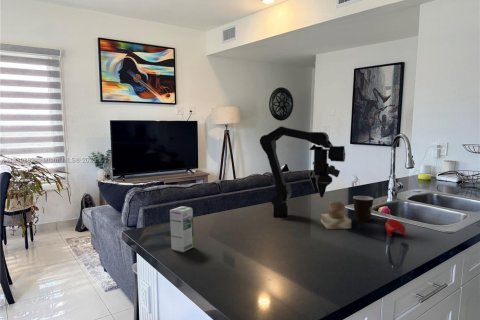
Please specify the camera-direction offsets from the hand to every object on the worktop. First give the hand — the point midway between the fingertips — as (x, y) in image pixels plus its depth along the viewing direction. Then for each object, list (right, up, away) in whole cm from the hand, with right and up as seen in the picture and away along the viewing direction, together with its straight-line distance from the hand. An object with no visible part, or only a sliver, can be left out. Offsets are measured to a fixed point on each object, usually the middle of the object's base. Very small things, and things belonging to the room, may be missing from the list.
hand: (319, 194), depth 147 cm
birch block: (+6, -13, -6) cm, 15 cm away
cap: (+25, -14, -20) cm, 35 cm away
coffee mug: (+21, -11, +2) cm, 24 cm away
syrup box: (-56, -16, -31) cm, 66 cm away
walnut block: (+6, -9, -7) cm, 12 cm away
